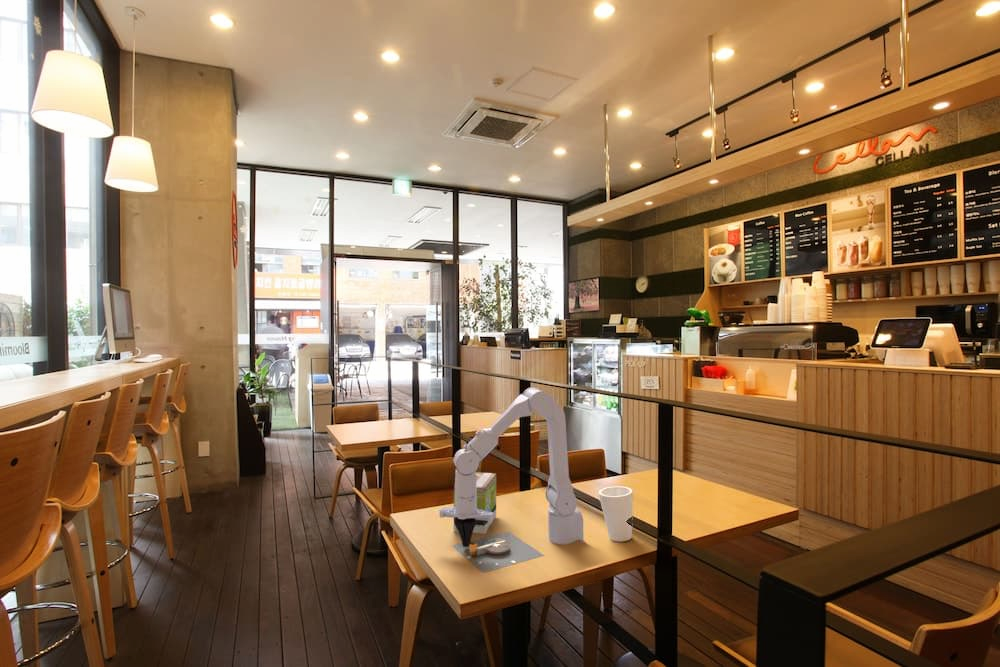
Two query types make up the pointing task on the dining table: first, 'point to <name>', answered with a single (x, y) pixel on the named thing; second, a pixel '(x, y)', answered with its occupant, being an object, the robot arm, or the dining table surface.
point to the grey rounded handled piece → (490, 547)
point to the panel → (492, 562)
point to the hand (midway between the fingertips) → (466, 545)
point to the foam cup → (617, 511)
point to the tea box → (484, 499)
